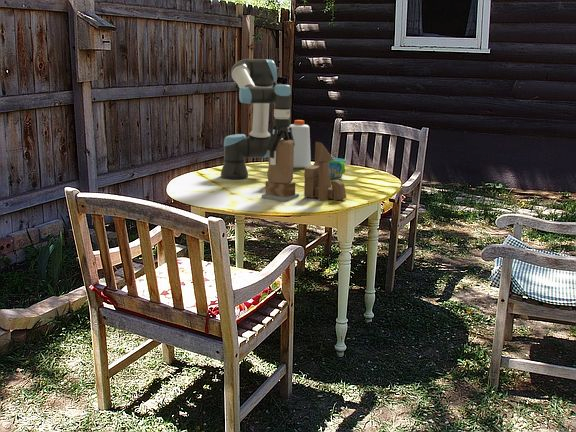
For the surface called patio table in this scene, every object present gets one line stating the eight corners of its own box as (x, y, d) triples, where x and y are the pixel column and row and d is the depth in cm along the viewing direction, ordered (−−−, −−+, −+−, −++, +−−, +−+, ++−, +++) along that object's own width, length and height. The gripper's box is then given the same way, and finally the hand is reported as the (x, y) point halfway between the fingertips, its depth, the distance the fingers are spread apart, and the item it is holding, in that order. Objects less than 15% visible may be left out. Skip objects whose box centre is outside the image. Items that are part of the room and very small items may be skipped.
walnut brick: (265, 193, 323) (265, 181, 322) (276, 191, 329) (276, 179, 328) (284, 197, 316) (284, 184, 315) (295, 194, 322) (295, 182, 321)
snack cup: (350, 179, 373) (350, 161, 371) (333, 180, 369) (333, 162, 367) (337, 174, 387) (338, 156, 385) (320, 175, 383) (321, 157, 381)
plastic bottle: (311, 168, 404) (312, 122, 398) (286, 167, 404) (287, 121, 397) (309, 164, 419) (311, 119, 412) (285, 163, 419) (286, 118, 412)
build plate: (261, 197, 321) (261, 194, 321) (276, 193, 332) (276, 190, 331) (284, 201, 314) (284, 198, 314) (298, 196, 325) (298, 193, 325)
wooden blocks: (339, 204, 311) (341, 144, 305) (299, 199, 319) (301, 141, 312) (355, 194, 333) (358, 138, 326) (317, 190, 341) (319, 135, 334)
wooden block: (288, 184, 315) (289, 142, 311) (267, 183, 318) (268, 141, 313) (293, 180, 325) (294, 139, 320) (273, 179, 327) (274, 138, 323)
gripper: (273, 120, 302) (272, 167, 307) (302, 116, 322) (301, 160, 327) (260, 119, 306) (259, 165, 311) (289, 115, 326) (288, 158, 331)
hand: (280, 162), depth 319 cm, fingers open, 13 cm apart
